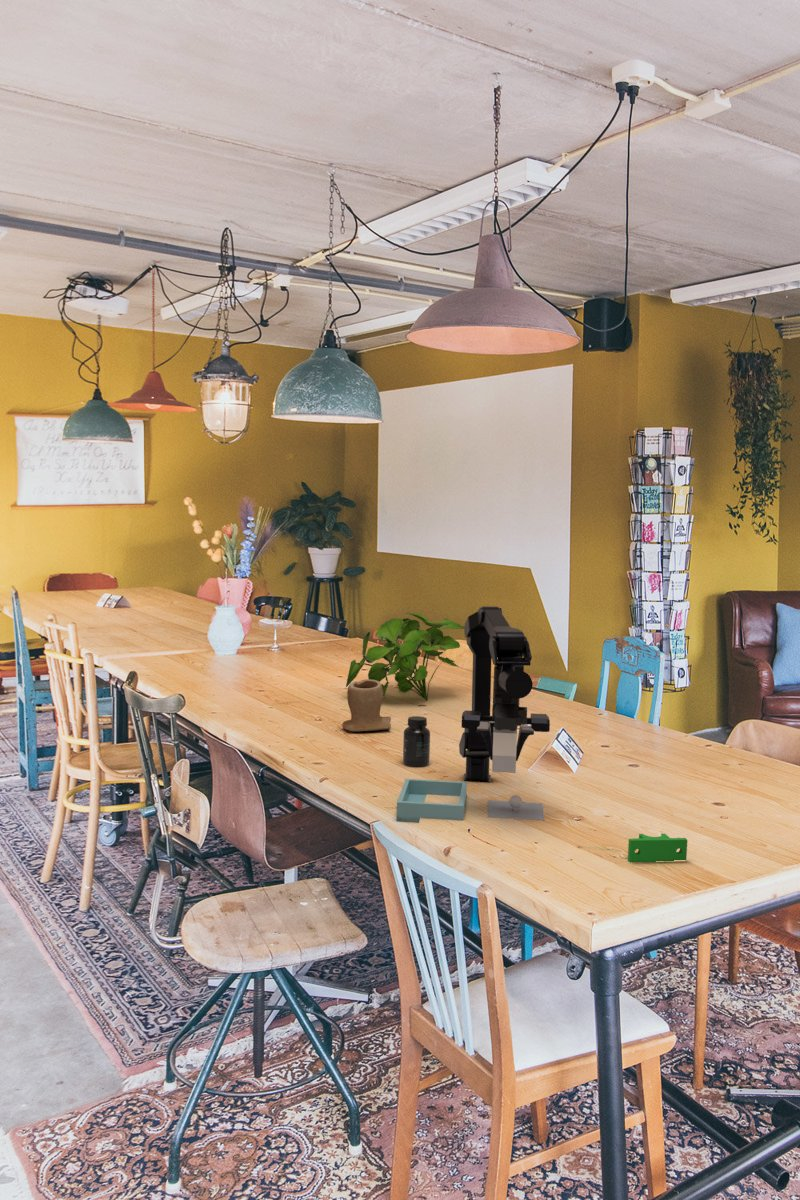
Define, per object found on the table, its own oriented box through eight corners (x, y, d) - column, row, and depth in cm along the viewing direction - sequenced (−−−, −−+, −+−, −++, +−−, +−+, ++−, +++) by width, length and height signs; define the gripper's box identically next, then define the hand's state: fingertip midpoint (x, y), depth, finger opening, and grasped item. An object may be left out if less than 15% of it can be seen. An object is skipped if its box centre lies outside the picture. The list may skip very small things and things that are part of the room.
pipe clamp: (678, 856, 191) (680, 833, 190) (686, 863, 187) (687, 839, 187) (622, 856, 189) (624, 833, 189) (629, 863, 186) (630, 839, 185)
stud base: (488, 804, 219) (488, 786, 219) (542, 807, 218) (542, 789, 218) (487, 821, 208) (487, 802, 207) (544, 825, 206) (545, 805, 206)
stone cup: (347, 736, 280) (349, 684, 278) (339, 727, 291) (340, 677, 290) (399, 734, 284) (400, 683, 282) (388, 725, 295) (389, 676, 294)
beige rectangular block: (492, 771, 210) (493, 732, 209) (492, 765, 215) (493, 727, 214) (515, 773, 210) (517, 733, 209) (515, 766, 215) (516, 728, 214)
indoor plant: (422, 698, 303) (384, 609, 307) (344, 735, 332) (311, 654, 336) (508, 665, 334) (472, 585, 338) (430, 702, 363) (399, 628, 367)
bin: (405, 795, 224) (405, 778, 224) (466, 799, 223) (466, 782, 223) (396, 820, 207) (396, 802, 206) (462, 824, 205) (463, 806, 205)
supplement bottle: (399, 761, 254) (400, 715, 253) (423, 759, 256) (425, 714, 255) (408, 768, 248) (409, 721, 247) (433, 766, 250) (434, 720, 249)
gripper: (461, 694, 203) (459, 768, 205) (552, 698, 202) (549, 772, 203) (463, 684, 214) (461, 754, 216) (549, 688, 213) (546, 758, 214)
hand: (503, 760), depth 212 cm, fingers closed on beige rectangular block, 5 cm apart
